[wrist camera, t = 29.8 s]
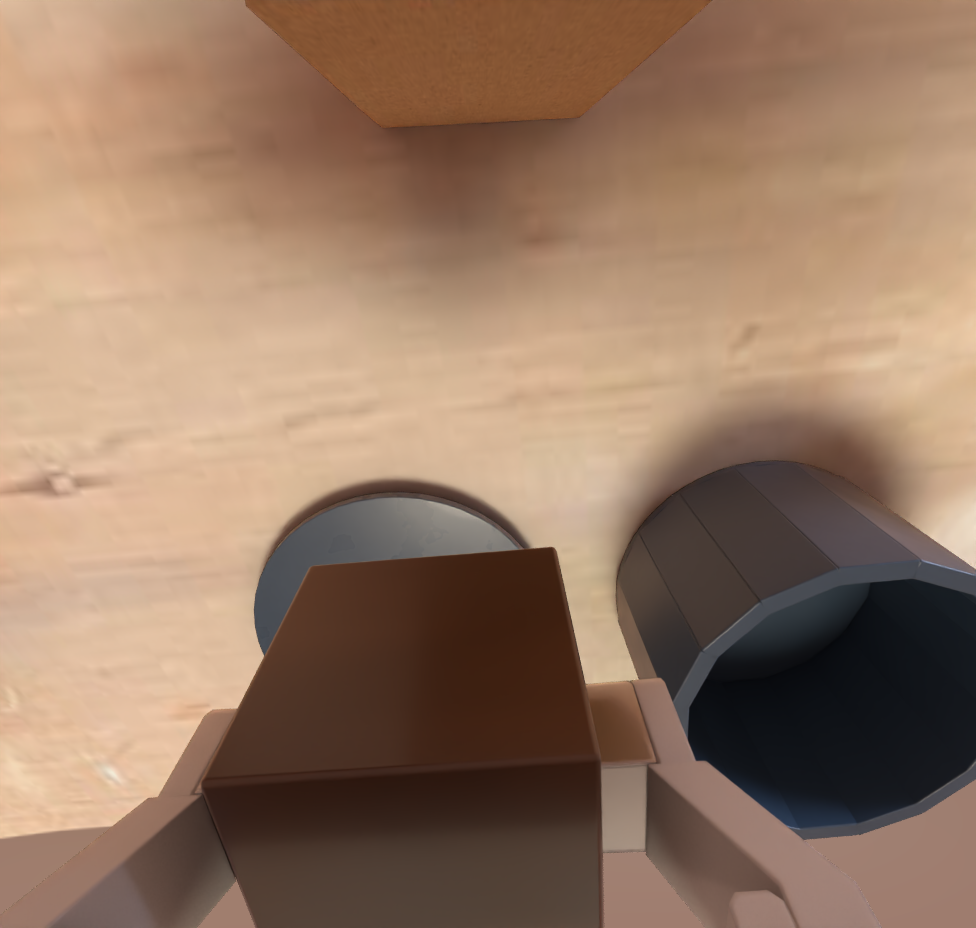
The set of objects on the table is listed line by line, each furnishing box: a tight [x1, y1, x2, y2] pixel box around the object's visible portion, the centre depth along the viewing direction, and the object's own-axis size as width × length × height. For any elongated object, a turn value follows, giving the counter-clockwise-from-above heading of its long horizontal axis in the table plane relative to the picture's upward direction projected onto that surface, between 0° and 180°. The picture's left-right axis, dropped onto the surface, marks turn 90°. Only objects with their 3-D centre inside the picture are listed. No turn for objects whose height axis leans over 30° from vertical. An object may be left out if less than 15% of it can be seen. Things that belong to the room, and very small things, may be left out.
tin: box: [616, 461, 976, 840], centre depth 28 cm, size 15×15×10 cm
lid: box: [254, 492, 523, 656], centre depth 29 cm, size 16×16×7 cm
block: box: [201, 547, 604, 928], centre depth 9 cm, size 4×4×4 cm
